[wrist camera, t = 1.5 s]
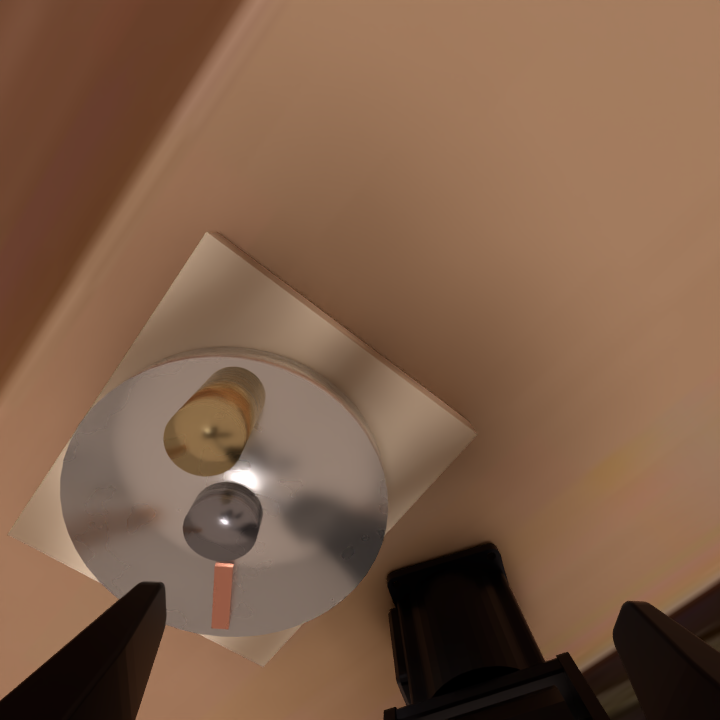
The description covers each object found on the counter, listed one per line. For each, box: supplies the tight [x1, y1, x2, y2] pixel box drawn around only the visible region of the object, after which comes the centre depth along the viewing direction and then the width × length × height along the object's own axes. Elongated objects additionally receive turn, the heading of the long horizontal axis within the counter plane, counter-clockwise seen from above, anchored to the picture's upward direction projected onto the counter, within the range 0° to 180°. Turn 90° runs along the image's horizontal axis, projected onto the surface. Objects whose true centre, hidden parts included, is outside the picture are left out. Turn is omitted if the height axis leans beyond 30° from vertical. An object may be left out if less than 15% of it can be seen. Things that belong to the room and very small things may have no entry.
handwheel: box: [60, 346, 388, 637], centre depth 17 cm, size 14×14×6 cm
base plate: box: [7, 232, 478, 667], centre depth 21 cm, size 15×18×2 cm
